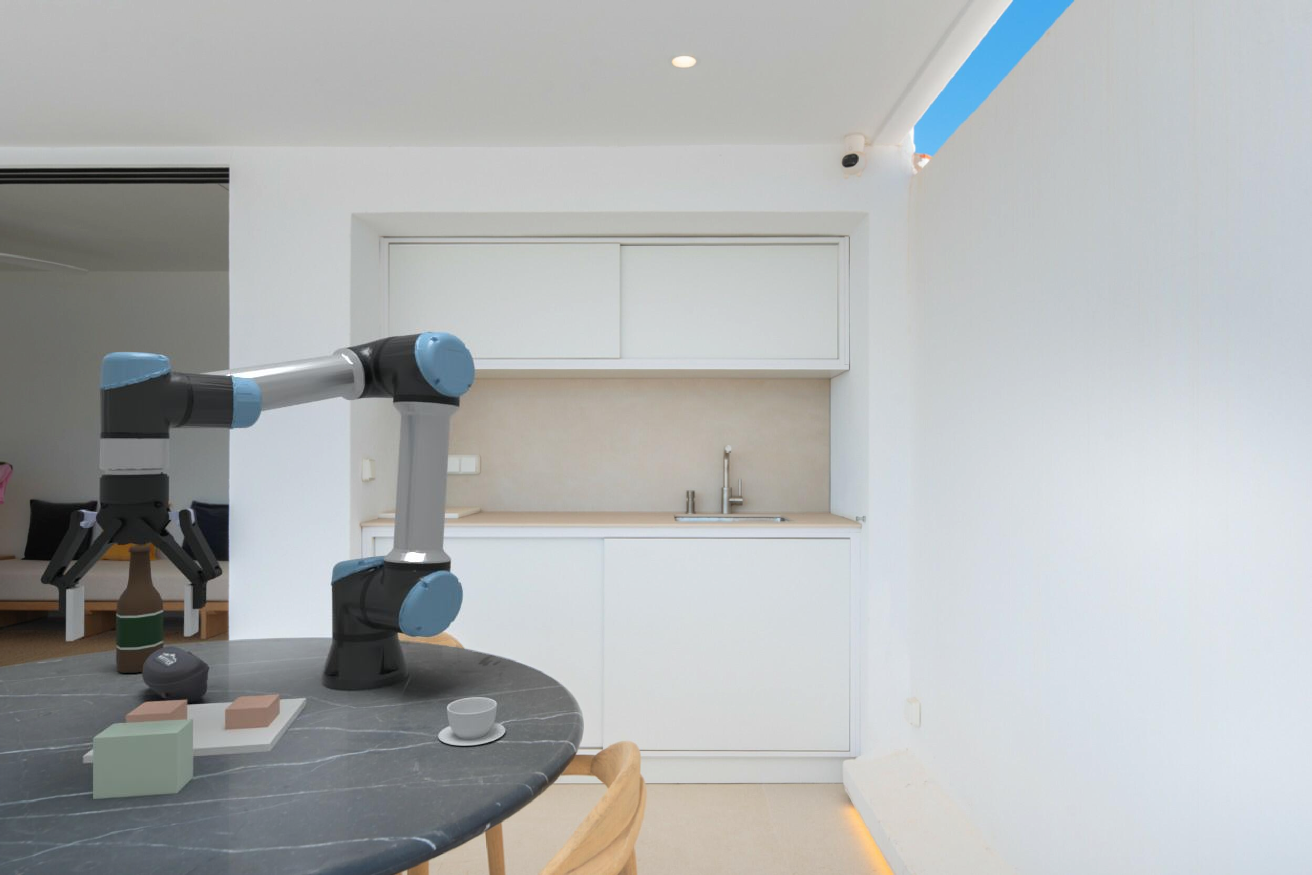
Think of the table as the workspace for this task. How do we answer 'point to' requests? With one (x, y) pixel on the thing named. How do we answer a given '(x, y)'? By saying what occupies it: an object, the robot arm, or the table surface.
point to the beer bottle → (138, 615)
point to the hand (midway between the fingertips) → (133, 636)
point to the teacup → (471, 722)
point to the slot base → (233, 738)
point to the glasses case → (176, 674)
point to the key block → (143, 758)
